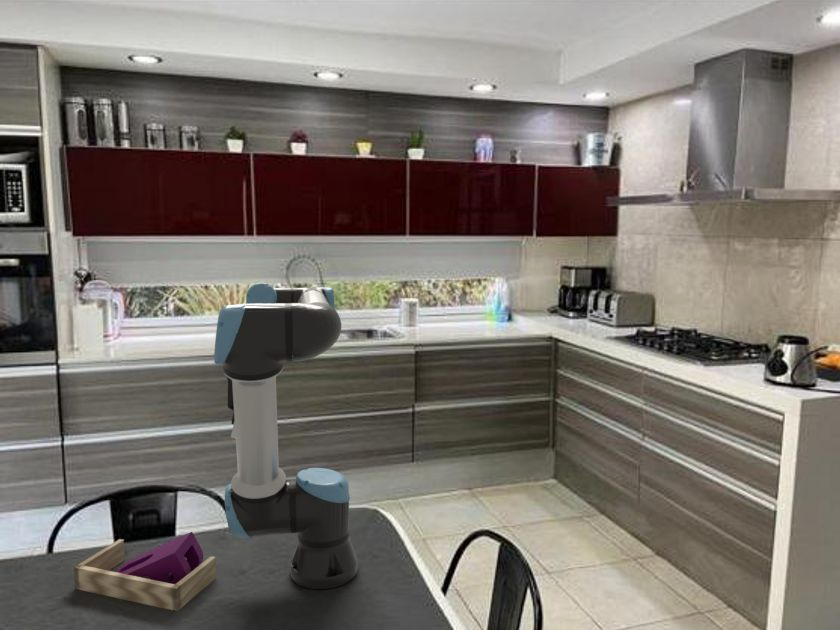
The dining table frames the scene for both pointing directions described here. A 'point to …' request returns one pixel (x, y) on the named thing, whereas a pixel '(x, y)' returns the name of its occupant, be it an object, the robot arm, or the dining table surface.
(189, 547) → the mounting bracket
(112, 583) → the birch bay
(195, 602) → the dining table surface
